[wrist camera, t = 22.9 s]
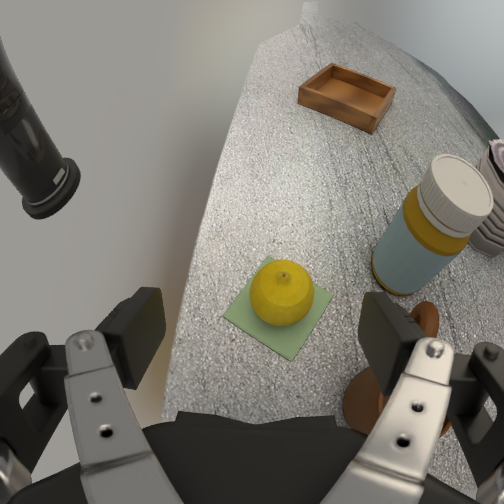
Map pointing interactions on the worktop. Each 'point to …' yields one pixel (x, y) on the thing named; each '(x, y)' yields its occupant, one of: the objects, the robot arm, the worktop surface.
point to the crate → (347, 96)
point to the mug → (366, 387)
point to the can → (500, 218)
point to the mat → (272, 336)
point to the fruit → (282, 293)
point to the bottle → (432, 225)
